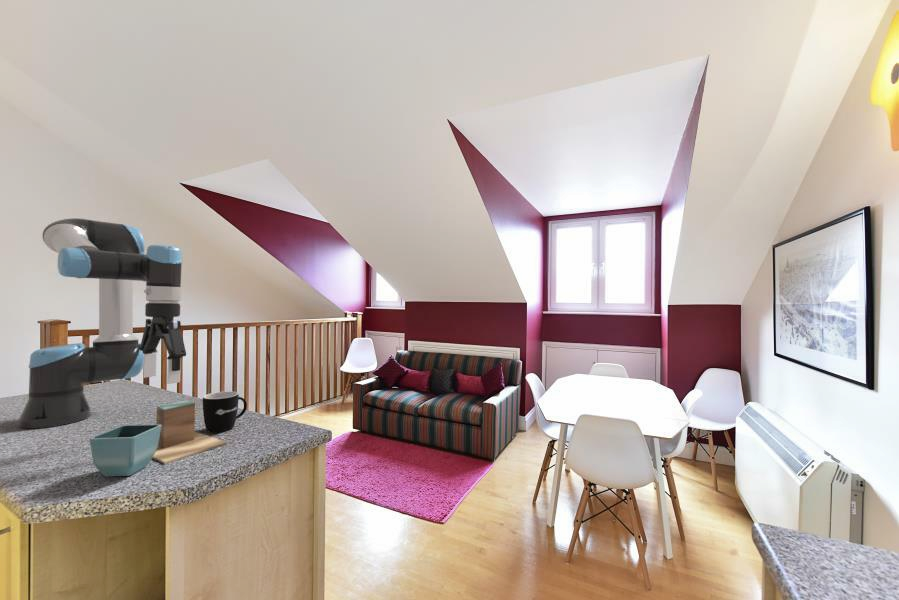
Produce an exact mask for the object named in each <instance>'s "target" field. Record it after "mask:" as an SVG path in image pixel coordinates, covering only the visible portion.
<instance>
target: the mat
mask: <svg viewBox="0 0 899 600" xmlns="http://www.w3.org/2000/svg"><path fill="white" fill-rule="evenodd" d="M225 445H228V442H227V441H225V440H221V439H220V438H219V439H218V438H216V437H214V436H210V435H207V434H204V433H201V432H198V431H196V430H195V431H194V440H192V441H189V442H185V443H182V444H179V445H175V446H172V447H168V448H165V449H163V448H160V447H158V446H157V449H156V452H155V454H154V456H153V457H152V459H153V460H155V461H157V462H159V463H162V464H163V465H166V464H170V463H173V462H176V461H178V460H182V459H186V458H188V457H191V456H195V455H197V454H200V453H203V452H206V451H210V450H212V449H216V448H219V447H222V446H225ZM152 459H151V460H152Z"/></svg>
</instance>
